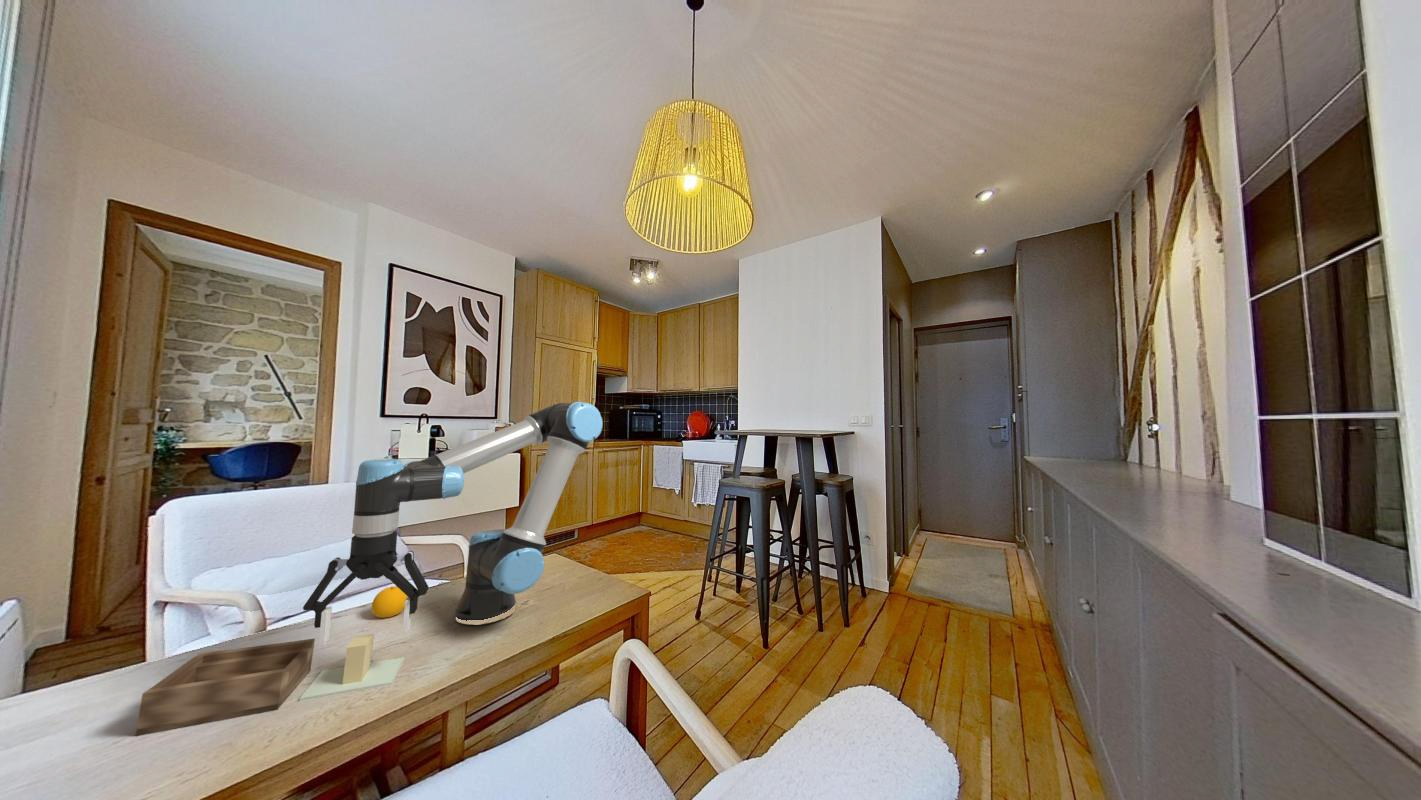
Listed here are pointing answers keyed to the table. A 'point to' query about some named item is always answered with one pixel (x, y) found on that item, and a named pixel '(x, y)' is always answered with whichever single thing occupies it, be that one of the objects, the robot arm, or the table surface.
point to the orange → (389, 602)
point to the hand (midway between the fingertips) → (366, 635)
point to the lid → (354, 672)
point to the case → (225, 686)
